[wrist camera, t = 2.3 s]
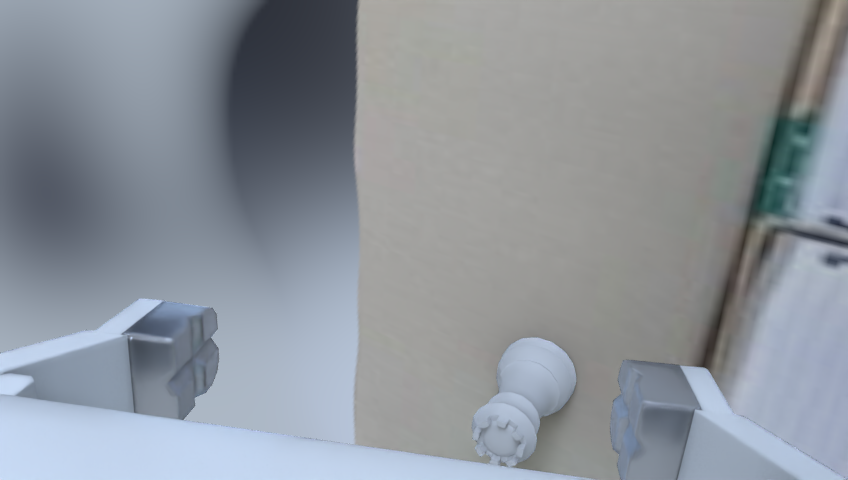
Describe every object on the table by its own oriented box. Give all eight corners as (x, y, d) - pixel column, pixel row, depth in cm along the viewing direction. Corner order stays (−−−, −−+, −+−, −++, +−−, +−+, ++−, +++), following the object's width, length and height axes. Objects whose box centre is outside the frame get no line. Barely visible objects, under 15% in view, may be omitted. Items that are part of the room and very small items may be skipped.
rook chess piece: (492, 381, 38) (441, 454, 31) (518, 320, 36) (470, 384, 29) (560, 417, 37) (523, 503, 30) (590, 357, 35) (559, 432, 28)
